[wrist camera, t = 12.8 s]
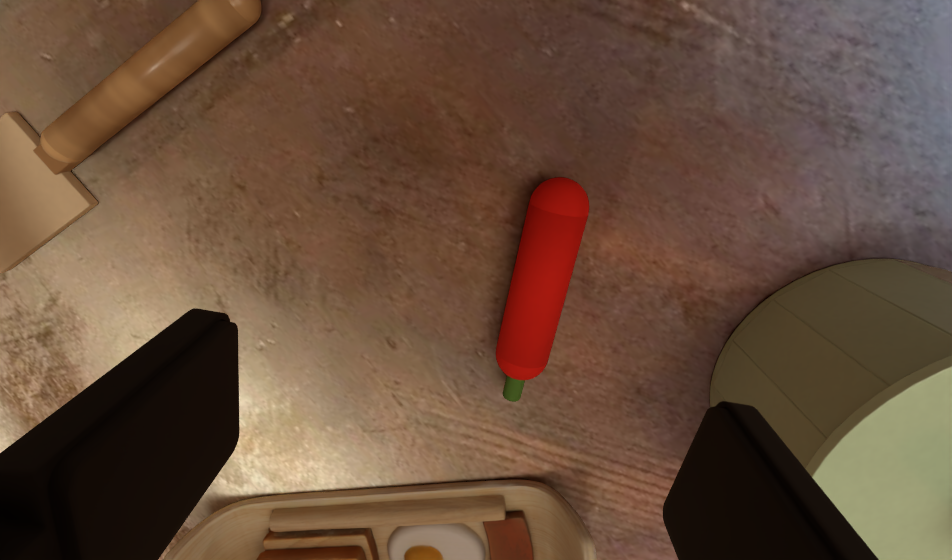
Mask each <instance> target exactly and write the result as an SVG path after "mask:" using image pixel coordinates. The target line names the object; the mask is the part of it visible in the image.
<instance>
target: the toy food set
mask: <svg viewBox="0 0 952 560" xmlns="http://www.w3.org/2000/svg"><path fill="white" fill-rule="evenodd" d="M163 560H597V556H596V550H595V545H594V542H593V539H592V537H591V534H590V533H589V531H588V529H587V527H586V526H585V524H584V522H583V520H582V519H581V518H580V516H579V515H578V513H577V512H576V511H575V510H574V509H573V507H572V506H571V505H570V504H569V503H568V502H567V501H566V500H565V499H564V498H563V497H562V496H561V495H560V493H559V492H557V491H556V490H554V489H553V488H551V487H549V486H547V485H545V484H543V483H540V482H536V481H530V480H494V481H476V482H459V483H445V484H432V485H419V486H403V487H388V488H375V489H361V490H343V491H328V492H310V493H297V494H286V495H275V496H265V497H257V498H251V499H246V500H243V501H239V502H236V503H233V504H230V505H228V506H226V507H224V508H222V509H220V510H218V511H217V512H215V513H213V514H211V515H210V516H209V517H207V518H206V519H205V520H203V521H202V522H200V523H199V524H198V525H196V526H195V527H194V528H193V529H192V530H191V531H189V532H188V533H187V534H186V535H185V536H184V537H183V538H182V539H181V540H180V541H179V542H178V543H177V544H176V545H175V546H174V547H173V548H172V549H171V550H170V551H169V552H168V553H167V555H166V556H165V557H164V559H163Z"/></svg>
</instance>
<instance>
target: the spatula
mask: <svg viewBox="0 0 952 560" xmlns="http://www.w3.org/2000/svg"><path fill="white" fill-rule="evenodd" d="M261 11H262V6H261V1H260V0H198V1H197V2H196V3H195V4H193V5H192V6H191V7H190V8H189V9H187V10H186V11H185V12H184V13H183V14H182V15H180V16H179V17H178V18H177V19H176V20H174V21H173V22H172V23H171V24H170V25H168V26H167V27H166V28H165V29H164V30H162V31H161V32H160V33H159V34H158V35H156V36H155V37H154V38H153V39H152V40H150V41H149V42H148V43H147V44H146V45H144V46H143V47H142V48H141V49H140V50H138V51H137V52H136V53H135V54H134V55H133V56H131V57H130V58H129V59H128V60H127V61H125V62H124V63H123V64H122V65H121V66H119V67H118V68H117V69H116V70H115V71H113V72H112V73H111V74H110V75H109V76H107V77H106V78H105V79H104V80H103V81H101V82H100V83H99V84H98V85H97V86H95V87H94V88H93V89H92V90H91V91H89V92H88V93H87V94H86V95H85V96H84V97H82V98H81V99H80V100H79V101H78V102H76V103H75V104H74V105H73V106H72V107H70V108H69V109H68V110H67V111H66V112H64V113H63V114H62V115H61V116H60V117H58V118H57V119H56V120H55V121H54V122H52V123H51V124H50V125H49V126H48V127H46V128H45V129H44V131H43V132H42V134H41V137H39V136H38V134H37V133H36V132H35V131H34V130H33V129H32V128H31V127H30V126H29V124H28V123H27V122H26V121H25V120H24V119H23V118H22V117H21V116H20V114H19V113H18V112H7V113H5V114H4V115H3V116H2V117H0V273H3V272H6V271H9V270H11V269H12V268H14V267H15V266H16V265H18V264H19V263H20V262H21V261H23V260H24V259H25V258H27V257H28V256H29V255H31V254H32V253H33V252H35V251H36V250H37V249H39V248H40V247H41V246H43V245H44V244H45V243H47V242H48V241H49V240H51V239H52V238H53V237H55V236H56V235H57V234H59V233H60V232H61V231H63V230H64V229H65V228H67V227H68V226H69V225H71V224H72V223H73V222H75V221H76V220H77V219H79V218H80V217H81V216H82V215H84V214H85V213H86V212H88V211H89V210H90V209H92V208H93V207H94V206H96V205H97V204H98V201H97V200H96V199H95V198H94V197H93V196H92V195H91V194H90V192H89V191H88V190H87V189H86V188H85V187H84V186H83V185H82V184H81V182H80V181H79V180H78V179H77V178H76V177H75V176H74V175H73V174H72V172H71V170H72V169H73V168H74V167H76V166H77V165H78V164H79V163H81V162H82V161H83V160H84V159H86V158H87V157H88V156H90V155H91V154H92V153H93V152H94V151H95V150H96V149H97V148H98V147H100V146H101V145H102V144H103V143H105V142H106V141H107V140H108V139H110V138H111V137H112V136H113V135H115V134H116V133H117V132H119V131H120V130H121V129H122V128H124V127H125V126H126V125H127V124H129V123H130V122H131V121H132V120H134V119H135V118H136V117H137V116H139V115H140V114H141V113H142V112H144V111H145V110H146V109H148V108H149V107H150V106H151V105H153V104H154V103H155V102H156V101H158V100H159V99H160V98H161V97H163V96H164V95H165V94H166V93H168V92H169V91H170V90H171V89H173V88H174V87H175V86H177V85H178V84H179V83H180V82H182V81H183V80H184V79H185V78H187V77H188V76H189V75H190V74H192V73H193V72H194V71H195V70H197V69H198V68H199V67H200V66H202V65H203V64H204V63H206V62H207V61H208V60H209V59H211V58H212V57H213V56H214V55H216V54H217V53H218V52H219V51H221V50H222V49H223V48H224V47H226V46H227V45H228V44H229V43H231V42H232V41H233V40H235V39H236V38H237V37H238V36H240V35H241V34H242V33H243V32H245V31H246V30H247V29H248V28H250V27H251V26H252V25H253V24H255V23H256V22H257V21H258V19H259V18H260V15H261Z"/></svg>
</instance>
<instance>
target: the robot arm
mask: <svg viewBox="0 0 952 560" xmlns="http://www.w3.org/2000/svg"><path fill="white" fill-rule="evenodd" d="M238 438H239V375H238V328H237V325H236V324H235V323H233V322H230V319H229V317H228V315H227V314H225V313H220V312H214V311H208V310H203V309H191V310H190V311H188V312H187V313H185V314H184V315H183V316H181V317H180V318H179V319H178V320H176V321H175V322H174V323H172V324H171V325H170V326H168V327H167V328H166V329H164V330H163V331H162V332H160V333H159V334H158V335H156V336H155V337H154V338H152V339H151V340H150V341H148V342H147V343H146V344H144V345H143V346H142V347H140V348H139V349H138V350H136V351H135V352H134V353H132V354H131V355H130V356H128V357H127V358H126V359H124V360H123V361H122V362H120V363H119V364H118V365H117V366H115V367H114V368H113V369H111V370H110V371H109V372H107V373H106V374H105V375H103V376H102V377H101V378H99V379H98V380H97V381H95V382H94V383H93V384H91V385H90V386H89V387H87V388H86V389H85V390H83V391H82V392H81V393H79V394H78V395H77V396H75V397H74V398H73V399H71V400H70V401H69V402H67V403H66V404H65V405H63V406H62V407H61V408H60V409H58V410H57V411H56V412H54V413H53V414H52V415H50V416H49V417H48V418H46V419H45V420H44V421H42V422H41V423H40V424H38V425H37V426H36V427H34V428H33V429H32V430H30V431H29V432H28V433H26V434H25V435H24V436H22V437H21V438H20V439H18V440H17V441H16V442H14V443H13V444H12V445H10V446H9V447H8V448H6V449H5V450H4V451H3V452H1V453H0V560H158V559H159V557H160V556H161V555H162V553H163V552H164V550H165V549H166V547H167V546H168V545H169V543H170V542H171V540H172V539H173V537H174V536H175V535H176V533H177V532H178V530H179V529H180V527H181V526H182V525H183V523H184V522H185V520H186V519H187V517H188V516H189V515H190V513H191V512H192V510H193V509H194V507H195V506H196V505H197V503H198V502H199V500H200V499H201V497H202V496H203V495H204V493H205V492H206V490H207V489H208V487H209V486H210V485H211V483H212V482H213V480H214V479H215V477H216V476H217V475H218V473H219V472H220V470H221V469H222V467H223V466H224V465H225V463H226V462H227V460H228V459H229V457H230V456H231V455H232V453H233V451H234V450H235V447H236V445H237V442H238ZM663 520H664V523H665V526H666V529H667V531H668V534H669V536H670V539H671V542H672V544H673V547H674V549H675V552H676V554H677V557H678V559H679V560H879V559H878V558H877V557H876V556H875V554H874V553H873V552H872V551H871V549H870V548H869V547H868V546H867V544H866V543H865V542H864V541H863V539H862V538H861V537H860V536H859V535H858V533H857V532H856V531H855V530H854V528H853V527H852V526H851V525H850V523H849V522H848V521H847V520H846V518H845V517H844V516H843V515H842V514H841V512H840V511H839V510H838V509H837V507H836V506H835V505H834V504H833V502H832V501H831V500H830V499H829V497H828V496H827V495H826V494H825V493H824V491H823V490H822V489H821V488H820V486H819V485H818V484H817V483H816V481H815V480H814V479H813V478H812V476H811V475H810V474H809V473H808V472H807V470H806V469H805V468H804V467H803V465H802V464H801V463H800V462H799V460H798V459H797V458H796V457H795V456H794V454H793V453H792V452H791V451H790V449H789V448H788V447H787V446H786V444H785V443H784V442H783V441H782V439H781V438H780V437H779V436H778V435H777V433H776V432H775V431H774V430H773V428H772V427H771V426H770V425H769V423H768V422H767V421H766V420H765V418H764V417H763V416H762V415H761V414H760V412H759V411H758V410H757V409H756V408H755V407H753V406H750V405H745V404H739V403H733V402H727V401H721V402H719V403H718V404H717V405H716V406H715V407H714V406H713V407H710V408H709V409H708V410H707V412H706V414H705V416H704V418H703V420H702V422H701V424H700V427H699V429H698V431H697V433H696V435H695V437H694V440H693V442H692V444H691V446H690V448H689V450H688V453H687V455H686V457H685V459H684V461H683V463H682V466H681V468H680V470H679V472H678V474H677V476H676V479H675V481H674V483H673V485H672V487H671V490H670V492H669V494H668V496H667V498H666V500H665V503H664V506H663Z"/></svg>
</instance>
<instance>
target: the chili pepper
mask: <svg viewBox="0 0 952 560" xmlns="http://www.w3.org/2000/svg"><path fill="white" fill-rule="evenodd" d="M588 212H589V200H588V197H587V194H586V192H585V191H584V189H583V188H582V187H581V186H580V185H579V184H578V183H577V182H575V181H573V180H571V179H568V178H564V177H557V178H552V179H548V180H546V181H544V182H543V183H541V184H540V185H539V186H538V187H537V188H536V189H535V190H534V192H533V194H532V195H531V198H530V201H529V205H528V210H527V214H526V219H525V223H524V227H523V232H522V236H521V241H520V245H519V250H518V254H517V258H516V263H515V267H514V272H513V276H512V281H511V285H510V289H509V294H508V298H507V303H506V307H505V312H504V316H503V320H502V325H501V329H500V334H499V338H498V342H497V347H496V359H497V362H498V365H499V367H500V368H501V370H502V371H503V372H504V373H505V374H506V375H507V378H506V382H505V386H504V390H503V396H504V398H505V399H507V400H509V401H513V402H515V401H518V400H519V399H520V397H521V393H522V390H523V386H524V382H525V380H529V379H532V378H534V377H536V376H538V375H539V374H540V373H541V372H542V371H543V369H544V368H545V367H546V364H547V362H548V358H549V355H550V351H551V348H552V344H553V340H554V337H555V333H556V330H557V326H558V322H559V319H560V315H561V311H562V308H563V304H564V301H565V297H566V293H567V290H568V286H569V282H570V279H571V275H572V272H573V268H574V264H575V261H576V257H577V254H578V250H579V246H580V243H581V239H582V235H583V232H584V228H585V225H586V221H587V217H588Z"/></svg>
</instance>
